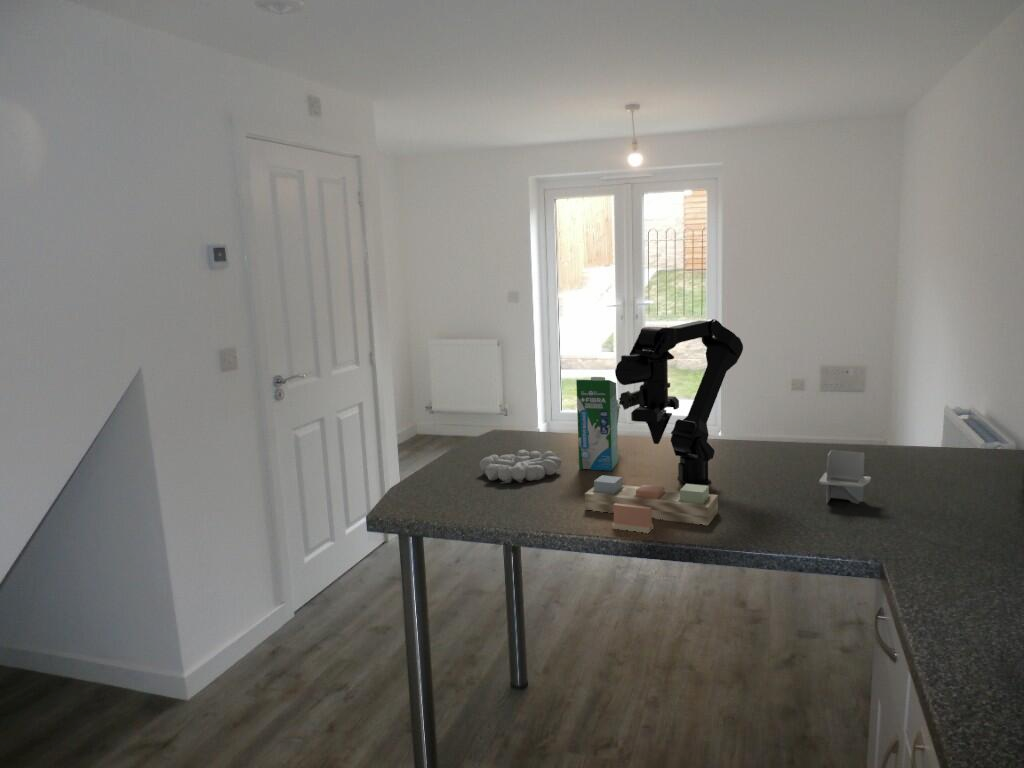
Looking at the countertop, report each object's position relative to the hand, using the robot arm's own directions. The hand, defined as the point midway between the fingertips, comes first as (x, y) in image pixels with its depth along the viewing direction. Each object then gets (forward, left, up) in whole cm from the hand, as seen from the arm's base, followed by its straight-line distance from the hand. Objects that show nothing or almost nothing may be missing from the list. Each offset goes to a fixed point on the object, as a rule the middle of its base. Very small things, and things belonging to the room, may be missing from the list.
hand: (656, 443), depth 183 cm
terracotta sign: (+15, +22, -12) cm, 29 cm away
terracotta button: (+7, +13, -10) cm, 18 cm away
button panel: (+7, +13, -12) cm, 19 cm away
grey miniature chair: (-36, +22, -13) cm, 44 cm away
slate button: (+15, +7, -8) cm, 18 cm away
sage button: (-1, +19, -8) cm, 21 cm away
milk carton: (+6, -27, -12) cm, 30 cm away
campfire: (+28, -27, -12) cm, 41 cm away
